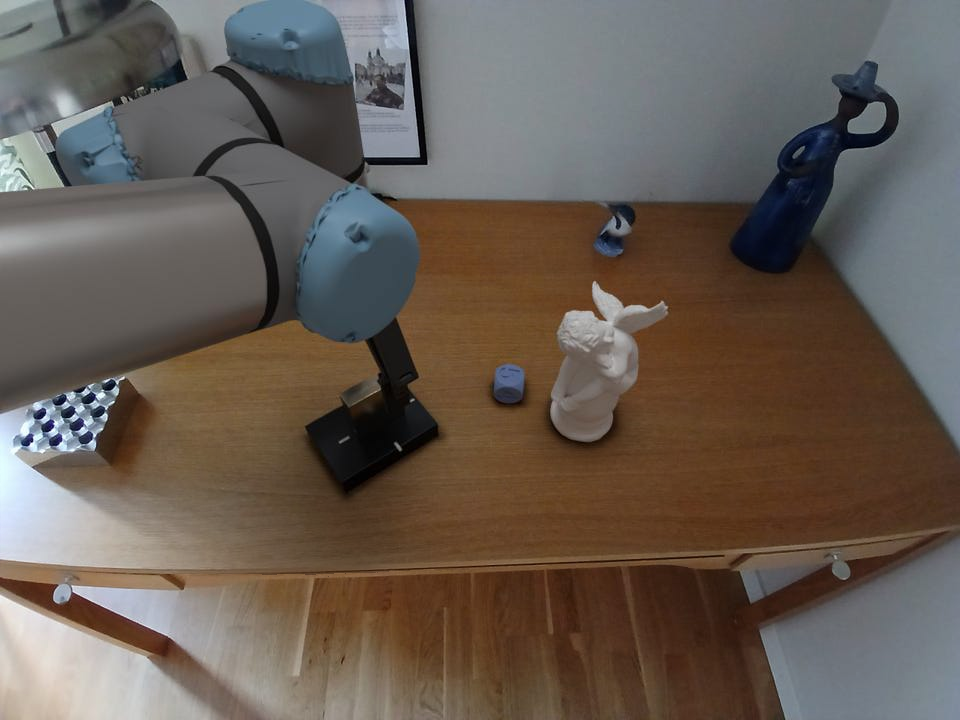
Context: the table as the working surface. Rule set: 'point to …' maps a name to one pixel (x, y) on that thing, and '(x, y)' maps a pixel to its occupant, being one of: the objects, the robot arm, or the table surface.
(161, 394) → the table surface
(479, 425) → the table surface
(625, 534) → the table surface
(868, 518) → the table surface
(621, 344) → the cherub figurine
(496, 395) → the decorative dice
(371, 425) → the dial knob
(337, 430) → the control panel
